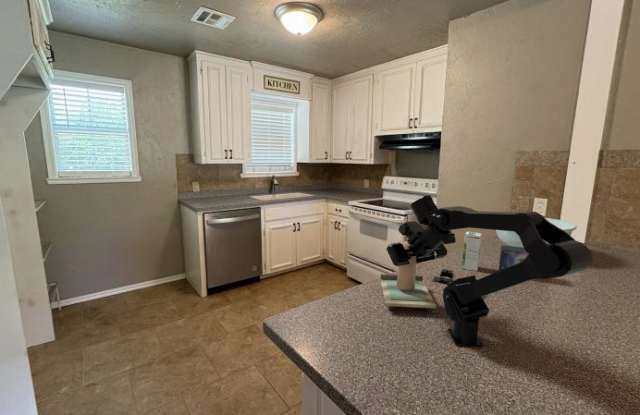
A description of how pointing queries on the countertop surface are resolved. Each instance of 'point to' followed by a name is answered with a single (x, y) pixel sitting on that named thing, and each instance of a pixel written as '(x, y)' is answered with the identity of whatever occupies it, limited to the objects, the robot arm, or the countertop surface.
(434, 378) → the countertop surface
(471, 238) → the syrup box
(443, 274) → the dark piece
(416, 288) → the mint green tray
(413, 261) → the canister
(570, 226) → the bowl
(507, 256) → the small box
